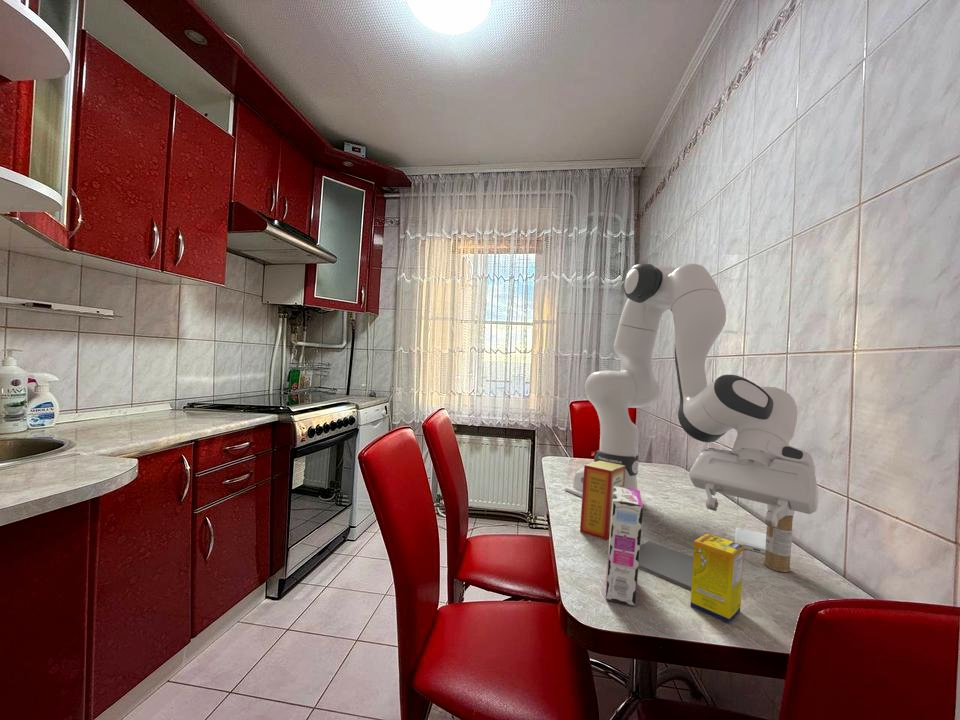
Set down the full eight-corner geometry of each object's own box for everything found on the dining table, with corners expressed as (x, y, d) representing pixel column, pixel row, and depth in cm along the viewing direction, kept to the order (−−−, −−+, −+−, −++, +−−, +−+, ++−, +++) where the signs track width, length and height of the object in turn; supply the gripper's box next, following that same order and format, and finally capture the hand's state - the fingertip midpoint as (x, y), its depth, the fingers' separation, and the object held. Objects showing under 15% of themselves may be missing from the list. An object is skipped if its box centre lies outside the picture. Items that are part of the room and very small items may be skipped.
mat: (616, 558, 86) (616, 555, 86) (649, 543, 95) (649, 540, 95) (693, 591, 74) (693, 587, 74) (721, 570, 84) (722, 567, 84)
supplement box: (702, 595, 73) (705, 532, 73) (741, 611, 69) (745, 544, 69) (688, 606, 69) (693, 540, 69) (729, 624, 65) (733, 553, 65)
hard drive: (735, 526, 108) (735, 541, 97) (774, 535, 103) (778, 552, 93) (735, 533, 108) (734, 548, 97) (774, 542, 103) (778, 559, 93)
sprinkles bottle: (763, 560, 90) (766, 497, 90) (789, 567, 88) (793, 502, 88) (764, 568, 86) (768, 502, 86) (792, 575, 84) (795, 508, 84)
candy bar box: (637, 608, 67) (644, 505, 68) (605, 600, 69) (611, 500, 69) (634, 577, 78) (640, 488, 78) (606, 571, 80) (612, 484, 80)
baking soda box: (595, 522, 106) (600, 458, 107) (621, 529, 102) (625, 464, 103) (579, 531, 99) (584, 463, 99) (606, 540, 95) (611, 469, 95)
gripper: (697, 436, 88) (675, 490, 81) (822, 455, 73) (807, 523, 66) (704, 456, 91) (683, 509, 84) (826, 478, 76) (812, 545, 69)
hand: (739, 515), depth 75 cm, fingers open, 8 cm apart
